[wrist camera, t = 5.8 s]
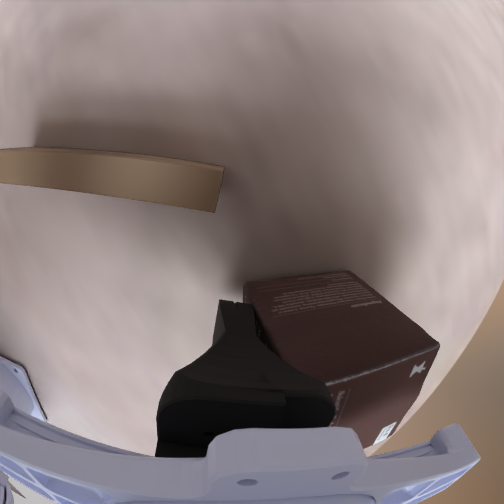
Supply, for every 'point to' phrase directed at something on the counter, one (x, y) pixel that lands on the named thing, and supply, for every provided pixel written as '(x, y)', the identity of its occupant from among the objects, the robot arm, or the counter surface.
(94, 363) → the counter surface
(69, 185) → the walnut screen
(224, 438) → the robot arm
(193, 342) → the counter surface
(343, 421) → the box
